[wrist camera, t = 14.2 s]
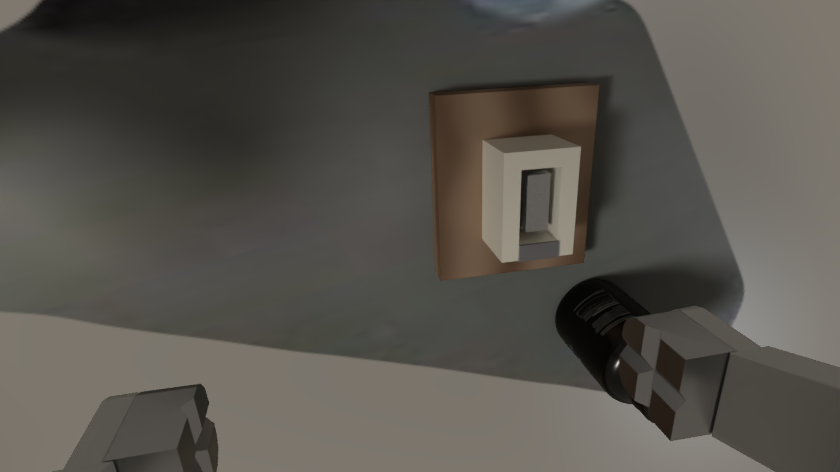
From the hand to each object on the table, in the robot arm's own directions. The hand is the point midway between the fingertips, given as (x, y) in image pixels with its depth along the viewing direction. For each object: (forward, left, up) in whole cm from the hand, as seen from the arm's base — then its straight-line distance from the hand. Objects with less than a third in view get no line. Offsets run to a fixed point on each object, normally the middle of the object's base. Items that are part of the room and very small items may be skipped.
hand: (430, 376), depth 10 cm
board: (+12, -5, -29) cm, 31 cm away
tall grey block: (+12, -5, -26) cm, 29 cm away
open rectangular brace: (+12, -5, -27) cm, 29 cm away
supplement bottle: (+20, -18, -29) cm, 39 cm away
